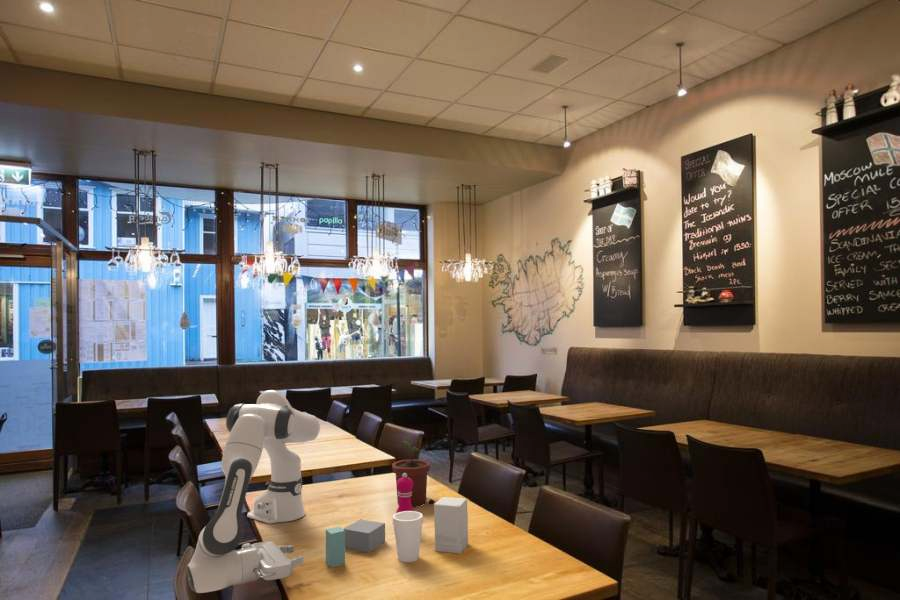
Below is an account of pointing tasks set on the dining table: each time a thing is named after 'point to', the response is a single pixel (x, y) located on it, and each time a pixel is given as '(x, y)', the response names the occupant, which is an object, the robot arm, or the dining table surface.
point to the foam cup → (408, 534)
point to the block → (335, 546)
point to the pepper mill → (404, 493)
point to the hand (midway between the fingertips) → (298, 553)
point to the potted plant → (414, 477)
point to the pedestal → (364, 535)
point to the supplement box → (451, 524)
